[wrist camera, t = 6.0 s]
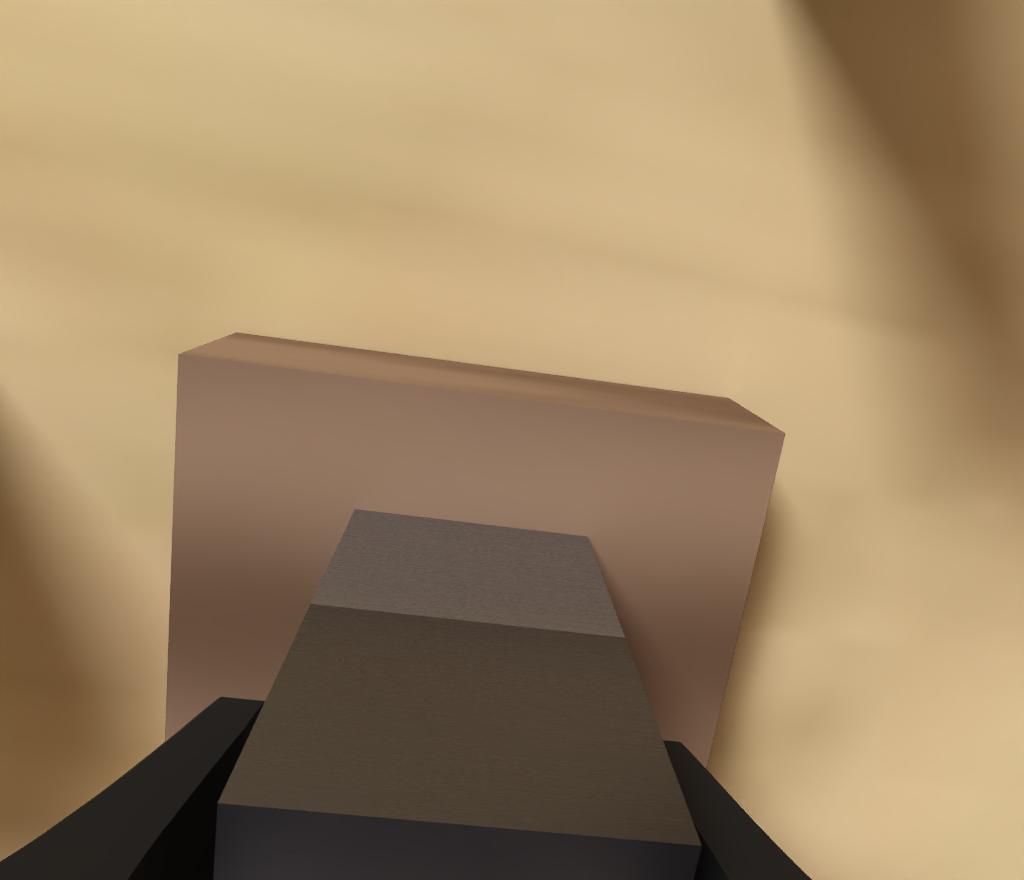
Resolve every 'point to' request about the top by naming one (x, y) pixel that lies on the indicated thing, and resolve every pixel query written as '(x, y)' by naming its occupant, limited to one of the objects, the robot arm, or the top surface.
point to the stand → (455, 502)
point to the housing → (456, 722)
